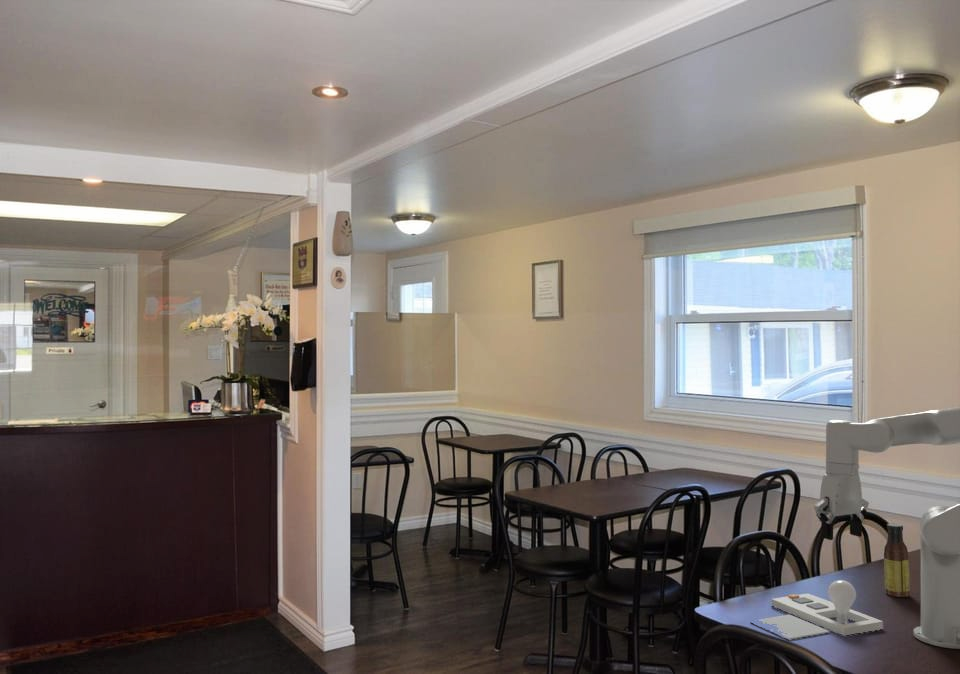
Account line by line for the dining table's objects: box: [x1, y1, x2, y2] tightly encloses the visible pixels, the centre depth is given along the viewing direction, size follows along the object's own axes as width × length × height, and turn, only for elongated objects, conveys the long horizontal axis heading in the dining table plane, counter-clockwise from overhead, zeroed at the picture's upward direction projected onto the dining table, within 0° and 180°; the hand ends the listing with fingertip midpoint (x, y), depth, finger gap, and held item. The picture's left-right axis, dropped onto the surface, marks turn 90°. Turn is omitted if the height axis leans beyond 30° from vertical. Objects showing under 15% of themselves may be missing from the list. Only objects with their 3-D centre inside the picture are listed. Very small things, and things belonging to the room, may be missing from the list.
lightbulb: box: [828, 579, 857, 624], centre depth 198 cm, size 6×6×11 cm
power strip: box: [770, 593, 884, 636], centre depth 203 cm, size 24×13×3 cm, turn 23°
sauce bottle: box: [883, 522, 911, 598], centre depth 223 cm, size 7×6×20 cm
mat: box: [758, 613, 831, 640], centre depth 195 cm, size 13×13×1 cm
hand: (841, 537), depth 199 cm, fingers open, 9 cm apart
